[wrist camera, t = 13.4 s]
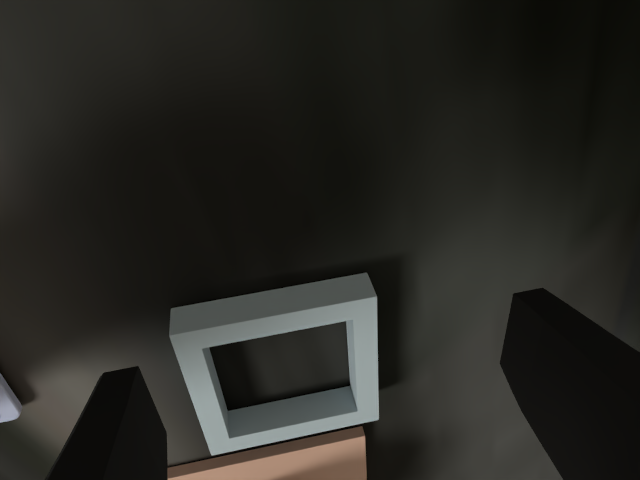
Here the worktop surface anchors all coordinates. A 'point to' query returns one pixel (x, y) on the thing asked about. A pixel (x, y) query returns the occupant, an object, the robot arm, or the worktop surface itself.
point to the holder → (269, 319)
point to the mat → (287, 461)
